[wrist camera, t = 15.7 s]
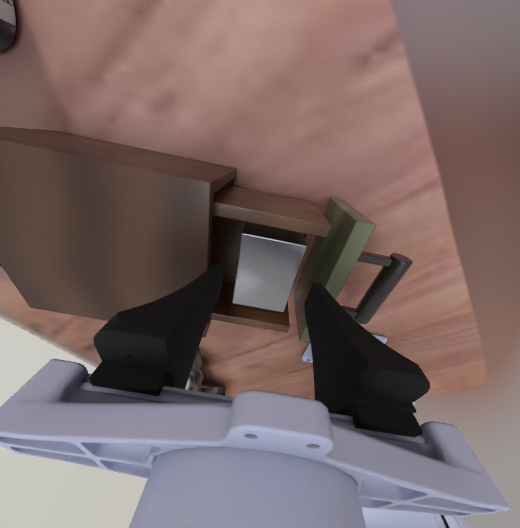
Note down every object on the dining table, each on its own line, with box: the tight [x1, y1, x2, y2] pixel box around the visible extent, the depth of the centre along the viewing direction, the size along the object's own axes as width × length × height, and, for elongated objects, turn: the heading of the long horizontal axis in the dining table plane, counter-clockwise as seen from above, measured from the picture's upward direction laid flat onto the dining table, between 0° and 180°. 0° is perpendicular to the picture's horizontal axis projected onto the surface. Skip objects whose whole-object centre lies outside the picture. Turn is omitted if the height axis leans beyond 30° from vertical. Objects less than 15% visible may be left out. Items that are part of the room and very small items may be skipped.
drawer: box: [209, 185, 412, 342], centre depth 16 cm, size 18×11×6 cm, turn 80°
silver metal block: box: [232, 222, 307, 312], centre depth 15 cm, size 6×4×4 cm
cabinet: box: [0, 127, 236, 337], centre depth 15 cm, size 14×12×7 cm
